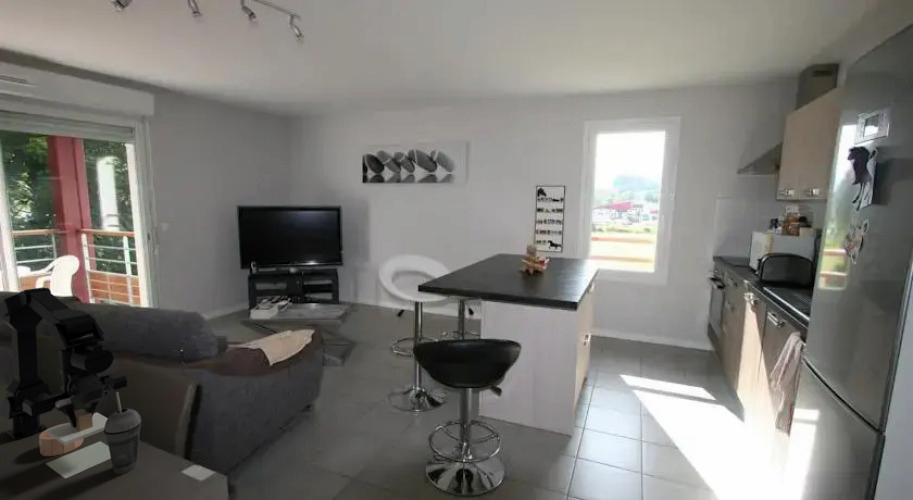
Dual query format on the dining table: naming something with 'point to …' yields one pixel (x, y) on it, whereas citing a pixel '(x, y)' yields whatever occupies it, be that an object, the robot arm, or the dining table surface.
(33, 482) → the dining table surface
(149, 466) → the dining table surface
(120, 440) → the beverage cup
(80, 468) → the mat
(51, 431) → the cover sheet
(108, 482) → the dining table surface
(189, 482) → the dining table surface
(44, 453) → the segmented pink ring
